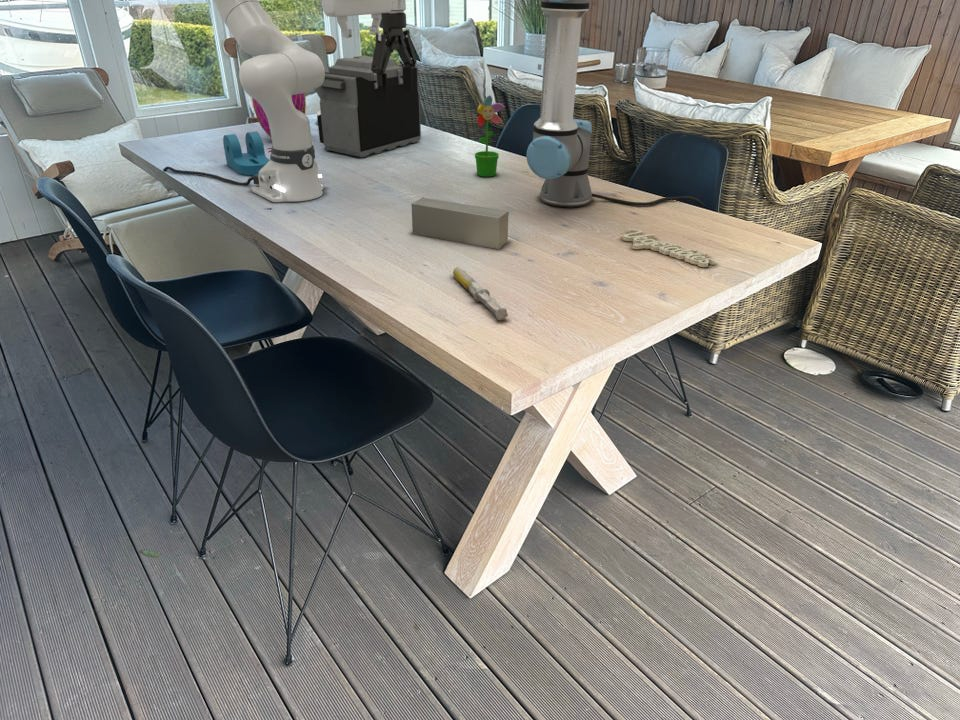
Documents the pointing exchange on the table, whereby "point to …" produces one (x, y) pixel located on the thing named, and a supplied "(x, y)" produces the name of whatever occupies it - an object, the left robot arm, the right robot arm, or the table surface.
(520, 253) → the table surface
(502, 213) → the bar
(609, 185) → the table surface
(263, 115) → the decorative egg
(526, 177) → the table surface
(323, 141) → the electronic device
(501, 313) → the syringe
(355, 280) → the table surface
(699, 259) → the decorative sign
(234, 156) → the camera mount
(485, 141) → the potted flower
